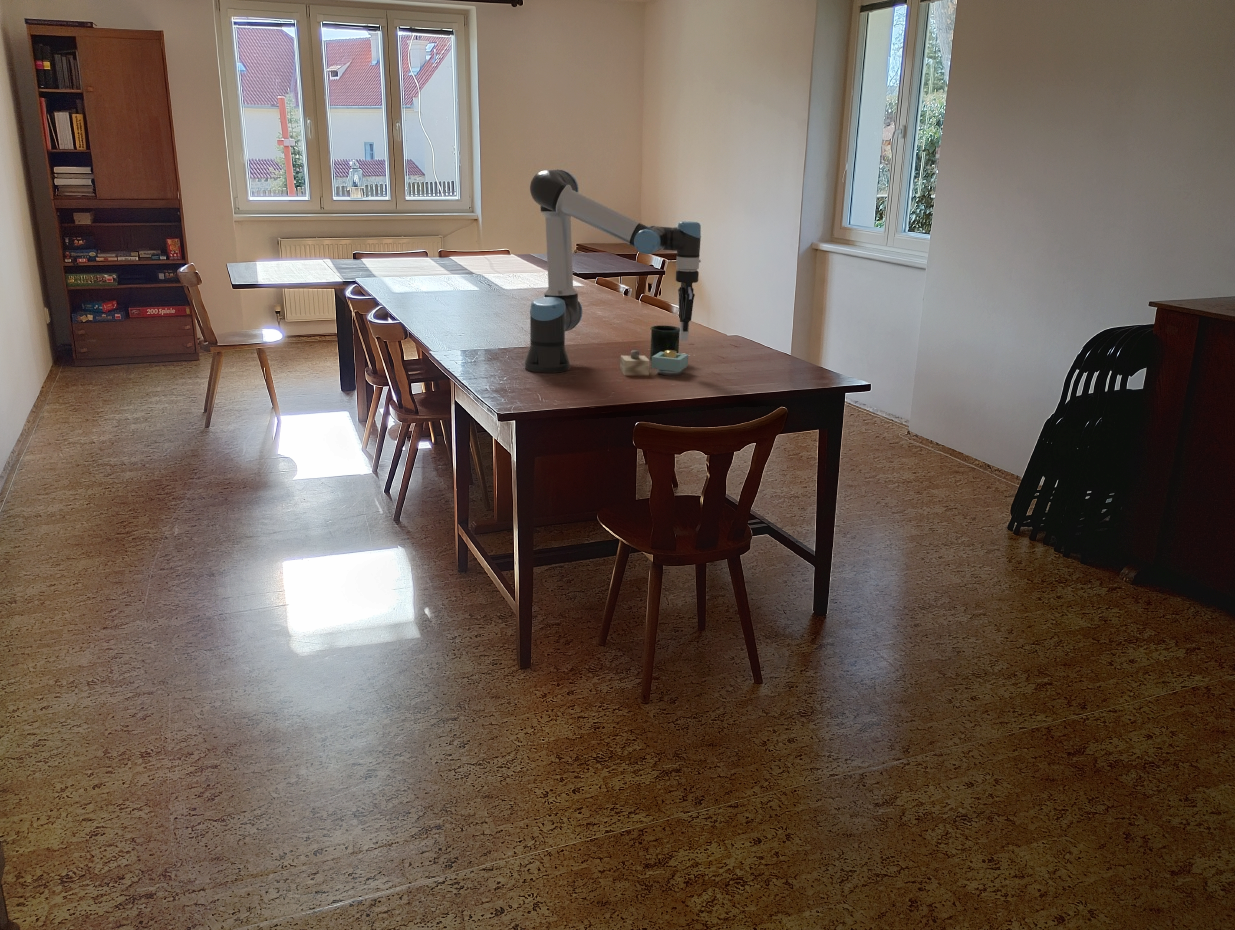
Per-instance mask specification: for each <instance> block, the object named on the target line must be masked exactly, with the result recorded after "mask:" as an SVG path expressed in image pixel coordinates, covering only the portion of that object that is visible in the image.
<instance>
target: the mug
mask: <svg viewBox="0 0 1235 930" xmlns="http://www.w3.org/2000/svg"><path fill="white" fill-rule="evenodd" d="M650 330H651V331H650V332H651V333H650V334H651V335H650V354H649V355H650V356H649V357H650V358H649V360H650V362H651V361H652V356H654V355H656V354H657V353H659V352H665V351H666V350H674V351H676V353H678V354H679V348H680V347H679V346H680V326H674V325H666V324H665V325H653V326H650Z"/></svg>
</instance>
